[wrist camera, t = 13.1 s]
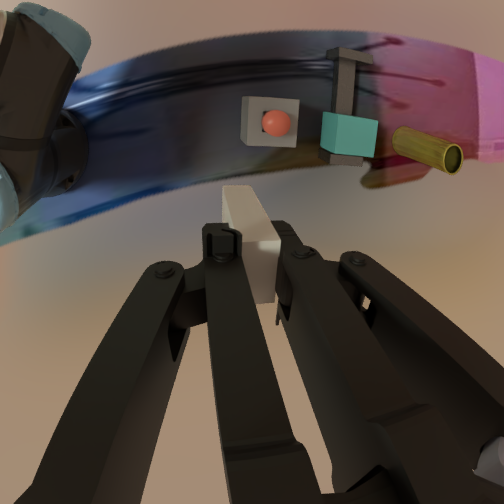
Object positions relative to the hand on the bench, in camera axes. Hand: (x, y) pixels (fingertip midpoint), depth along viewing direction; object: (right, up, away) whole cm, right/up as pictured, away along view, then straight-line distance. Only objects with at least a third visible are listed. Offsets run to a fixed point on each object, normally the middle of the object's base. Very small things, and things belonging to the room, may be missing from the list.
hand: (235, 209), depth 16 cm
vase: (+30, +19, +33) cm, 49 cm away
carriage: (+15, +18, +30) cm, 39 cm away
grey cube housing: (+3, +19, +28) cm, 34 cm away
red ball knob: (+3, +17, +24) cm, 30 cm away
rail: (+16, +22, +28) cm, 39 cm away
